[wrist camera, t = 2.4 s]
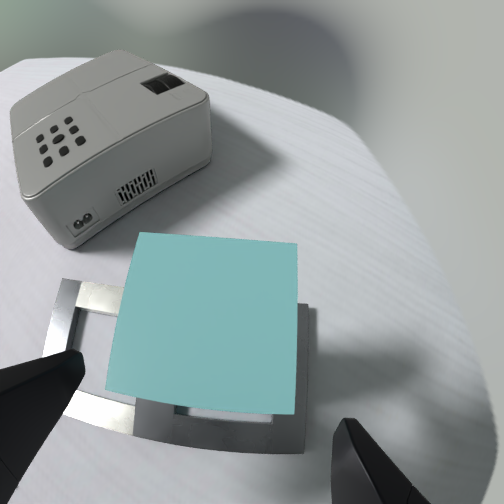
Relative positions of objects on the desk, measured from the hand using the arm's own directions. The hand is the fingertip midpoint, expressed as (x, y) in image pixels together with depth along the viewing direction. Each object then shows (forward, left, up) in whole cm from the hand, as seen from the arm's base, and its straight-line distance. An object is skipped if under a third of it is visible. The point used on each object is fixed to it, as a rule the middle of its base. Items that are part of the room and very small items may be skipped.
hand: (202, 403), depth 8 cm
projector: (+27, +3, -10) cm, 29 cm away
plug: (+2, -1, -10) cm, 10 cm away
